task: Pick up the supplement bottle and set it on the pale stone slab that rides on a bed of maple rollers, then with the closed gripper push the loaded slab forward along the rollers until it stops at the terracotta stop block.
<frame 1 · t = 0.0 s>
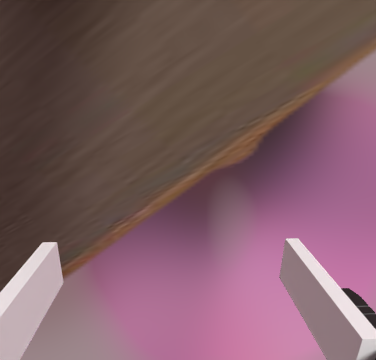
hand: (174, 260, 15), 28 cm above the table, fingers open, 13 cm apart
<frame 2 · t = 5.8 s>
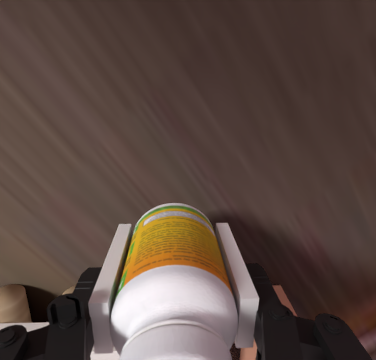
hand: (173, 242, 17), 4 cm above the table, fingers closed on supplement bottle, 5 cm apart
supplement bottle: (174, 236, 18), point 4 cm above the table, touching gripper
roller bed: (91, 328, 24), on the table
stop block: (258, 324, 25), on the table
when the fingers open (6 cm above the table, at t = 9.5 s): supplement bottle stays where it is, resting on slab.
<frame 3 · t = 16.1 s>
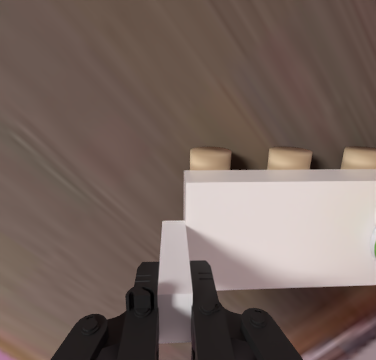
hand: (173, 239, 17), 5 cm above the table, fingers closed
roller bed: (275, 203, 23), on the table
slab: (311, 228, 19), point 4 cm above the table, slide at 1.0 cm, touching supplement bottle, gripper
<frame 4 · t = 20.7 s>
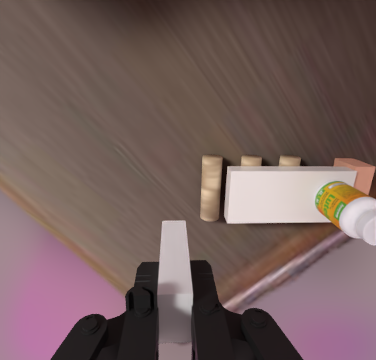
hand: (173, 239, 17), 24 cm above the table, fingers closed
supplement bottle: (329, 196, 38), point 5 cm above the table, touching slab
roller bed: (246, 184, 43), on the table
slab: (287, 194, 39), point 4 cm above the table, slide at 5.0 cm, touching supplement bottle
stop block: (338, 184, 44), on the table
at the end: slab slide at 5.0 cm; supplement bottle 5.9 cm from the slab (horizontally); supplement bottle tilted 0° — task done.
